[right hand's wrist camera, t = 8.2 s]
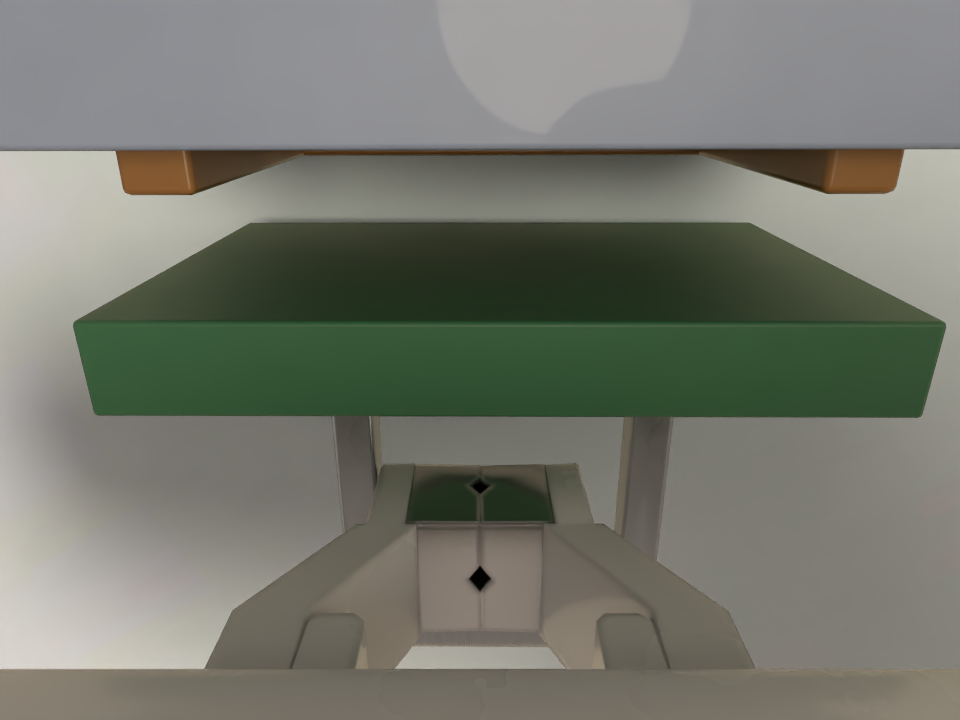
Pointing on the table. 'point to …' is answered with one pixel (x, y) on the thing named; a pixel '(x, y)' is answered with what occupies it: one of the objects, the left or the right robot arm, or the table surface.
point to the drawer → (509, 325)
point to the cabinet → (478, 75)
